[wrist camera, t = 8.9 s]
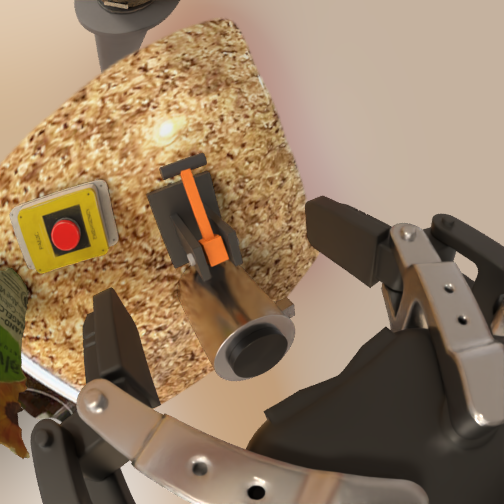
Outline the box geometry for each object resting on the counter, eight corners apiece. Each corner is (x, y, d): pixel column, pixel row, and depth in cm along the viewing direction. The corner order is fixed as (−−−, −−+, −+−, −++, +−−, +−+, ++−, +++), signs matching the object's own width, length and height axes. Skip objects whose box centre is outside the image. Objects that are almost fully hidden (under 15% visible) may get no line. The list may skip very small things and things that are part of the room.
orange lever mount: (146, 194, 34) (162, 225, 25) (206, 170, 36) (245, 192, 27) (173, 264, 41) (198, 312, 32) (225, 241, 43) (262, 280, 34)
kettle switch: (158, 168, 28) (160, 166, 26) (199, 154, 29) (204, 150, 27) (195, 267, 32) (200, 272, 30) (233, 250, 33) (240, 253, 31)
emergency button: (122, 256, 31) (24, 285, 25) (119, 241, 35) (30, 269, 29) (105, 185, 27) (-2, 220, 21) (106, 177, 30) (9, 209, 24)
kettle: (166, 273, 41) (205, 354, 28) (245, 238, 45) (311, 296, 32) (194, 330, 49) (234, 403, 36) (258, 298, 53) (312, 357, 40)
